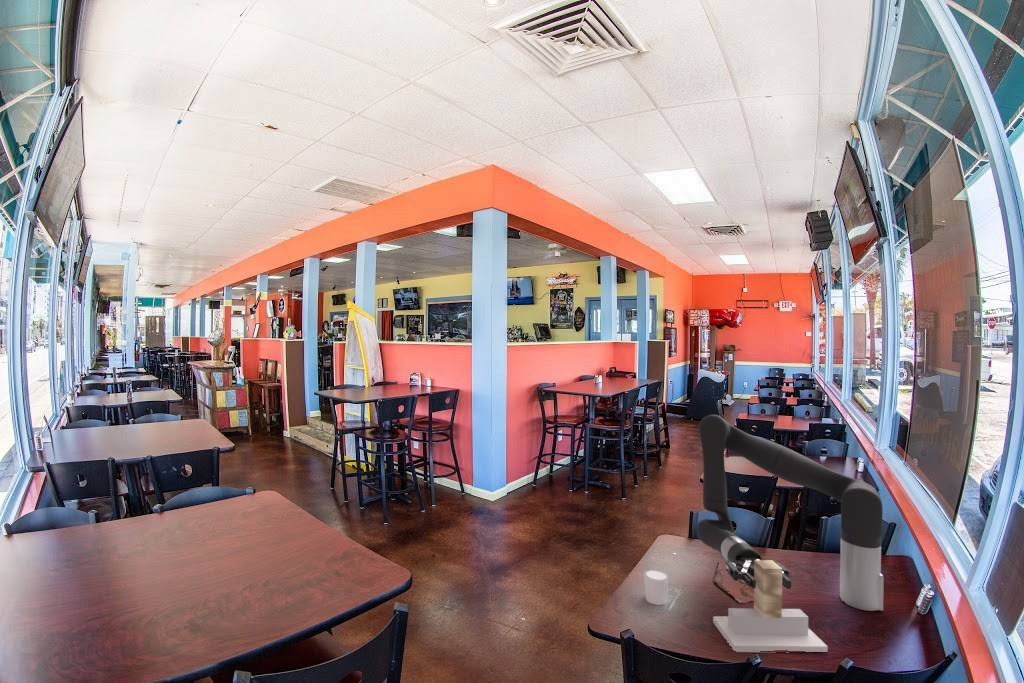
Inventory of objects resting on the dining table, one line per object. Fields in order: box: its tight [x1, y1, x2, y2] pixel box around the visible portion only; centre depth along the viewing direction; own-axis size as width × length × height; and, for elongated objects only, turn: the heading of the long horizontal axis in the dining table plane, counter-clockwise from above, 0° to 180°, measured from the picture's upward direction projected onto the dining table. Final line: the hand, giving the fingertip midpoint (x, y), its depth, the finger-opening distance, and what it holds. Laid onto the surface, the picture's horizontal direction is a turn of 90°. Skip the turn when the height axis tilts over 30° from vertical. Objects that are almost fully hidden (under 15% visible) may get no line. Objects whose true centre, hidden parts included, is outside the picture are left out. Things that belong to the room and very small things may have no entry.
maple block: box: [753, 559, 783, 618], centre depth 120 cm, size 4×4×12 cm
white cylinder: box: [643, 569, 670, 606], centre depth 136 cm, size 7×7×7 cm
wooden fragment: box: [713, 568, 754, 603], centre depth 147 cm, size 26×11×1 cm, turn 167°
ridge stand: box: [712, 607, 829, 653], centre depth 120 cm, size 22×12×6 cm, turn 90°
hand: (772, 585), depth 118 cm, fingers open, 8 cm apart
